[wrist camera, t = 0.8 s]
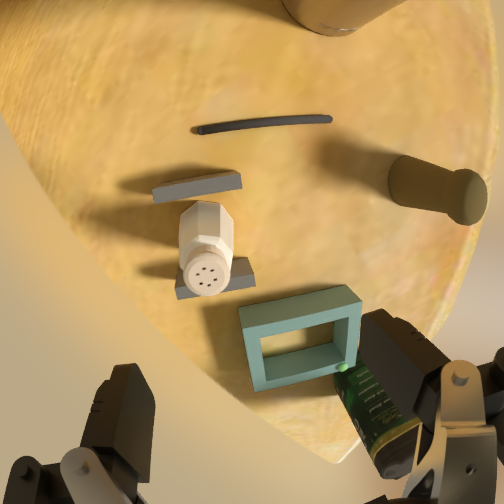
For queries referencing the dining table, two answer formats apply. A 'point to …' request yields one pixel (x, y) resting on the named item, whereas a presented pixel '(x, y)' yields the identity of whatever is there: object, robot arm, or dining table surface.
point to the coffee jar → (378, 421)
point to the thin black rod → (263, 123)
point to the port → (298, 317)
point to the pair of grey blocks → (195, 187)
